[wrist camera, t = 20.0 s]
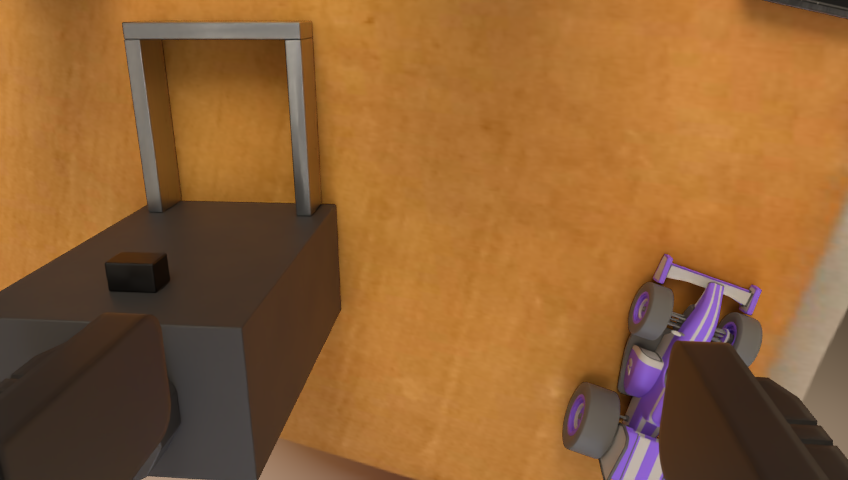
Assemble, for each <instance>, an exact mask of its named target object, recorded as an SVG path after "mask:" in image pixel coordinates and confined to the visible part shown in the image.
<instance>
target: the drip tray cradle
mask: <svg viewBox="0 0 848 480" xmlns="http://www.w3.org/2000/svg"><path fill="white" fill-rule="evenodd" d="M122 27H123V34H124V39H125V40H124V42H125V49H126V56H127V63H128V70H129V77H130V84H131V91H132V98H133V105H134V112H135V119H136V127H137V134H138V141H139V148H140V155H141V162H142V169H143V176H144V183H145V190H146V197H147V204H148V211H149V212H161V213H162V212H164V211H166V210H167V209H169V208H170V207H172V206H173V205H175V204H177V203H178V202H180V201H181V200H182V199H181V191H180V183H179V175H178V167H177V159H176V151H175V143H174V135H173V127H172V119H171V110H170V102H169V94H168V86H167V78H166V70H165V62H164V54H163V46H162V39H163V40H285V52H286V67H287V82H288V96H289V111H290V126H291V141H292V156H293V171H294V186H295V201H296V215H297V216H311V215H312V214H313V213H314V212H315V211H316V209H317V208H318V207H319V206H320V205H321V203H322V200H321V181H320V163H319V144H318V126H317V107H316V89H315V70H314V52H313V38H311V37H312V36H313V34H312V22H311V21H137V22H123V23H122ZM105 270H106V276H107V282H108V288H109V291H118V292H146V293H156V292H158V291H159V290H160V289H161V288H162V287H163V286H165V285H166V284H167V283H168V282H169V281H170V274H169V266H168V259H167V254H166V253H145V252H120V253H119V254H117V255H116V256H114V257H113V258H111V259H110V260H108V261H107V262H105Z"/></svg>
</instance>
